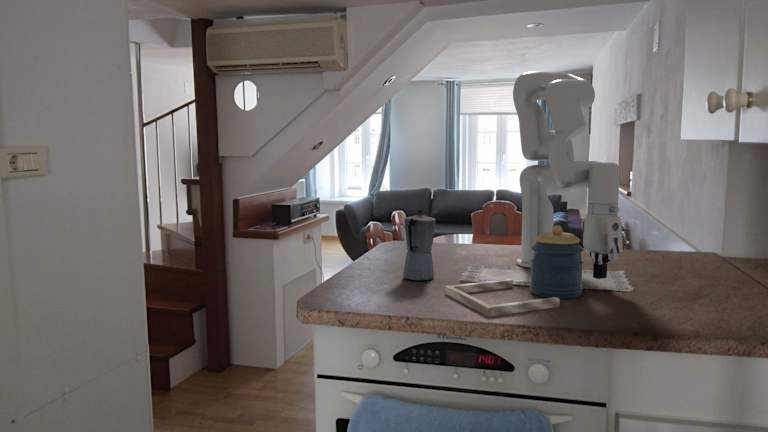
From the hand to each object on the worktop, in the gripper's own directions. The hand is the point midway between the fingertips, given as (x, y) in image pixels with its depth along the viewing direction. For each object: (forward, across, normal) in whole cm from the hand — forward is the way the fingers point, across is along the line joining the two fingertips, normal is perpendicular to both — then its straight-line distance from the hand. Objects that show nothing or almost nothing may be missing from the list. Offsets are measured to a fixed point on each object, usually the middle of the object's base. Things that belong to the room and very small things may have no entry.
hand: (599, 277), depth 150 cm
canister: (+3, 0, +14) cm, 15 cm away
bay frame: (+3, 0, +30) cm, 30 cm away
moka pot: (+3, +28, +40) cm, 49 cm away
